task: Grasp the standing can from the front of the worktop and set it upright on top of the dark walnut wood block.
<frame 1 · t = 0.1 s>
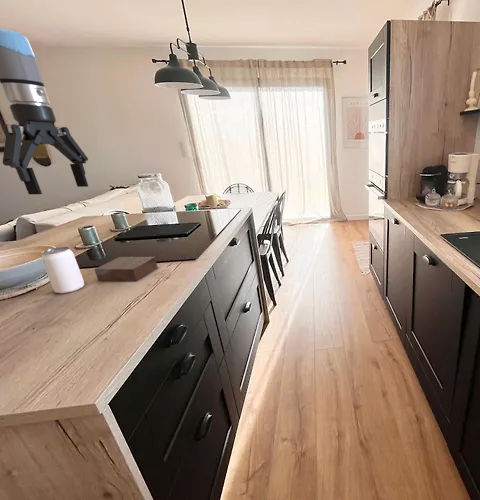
hand: (61, 190, 80), 28 cm above the counter, tool pointing down, fingers open, 13 cm apart
walnut block: (129, 274, 93), on the counter
can: (70, 289, 84), on the counter
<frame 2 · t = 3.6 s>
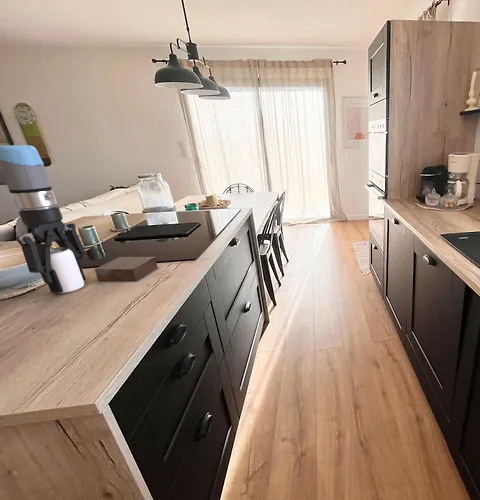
hand: (69, 285, 83), 1 cm above the counter, tool pointing down, fingers closed on can, 6 cm apart
can: (70, 289, 84), on the counter, touching gripper
everything else where it was.
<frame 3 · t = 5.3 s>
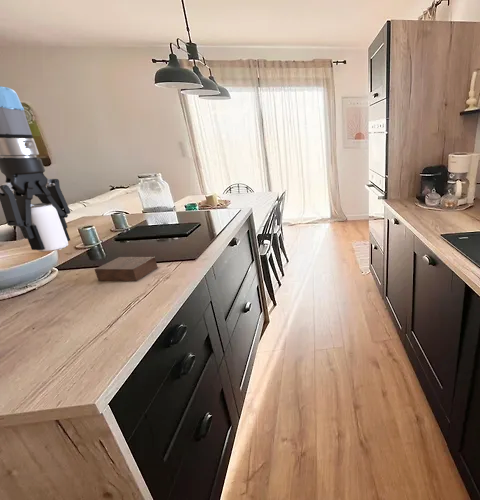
hand: (52, 244, 79), 14 cm above the counter, tool pointing down, fingers closed on can, 6 cm apart
can: (53, 248, 79), point 12 cm above the counter, touching gripper
everything else where it was.
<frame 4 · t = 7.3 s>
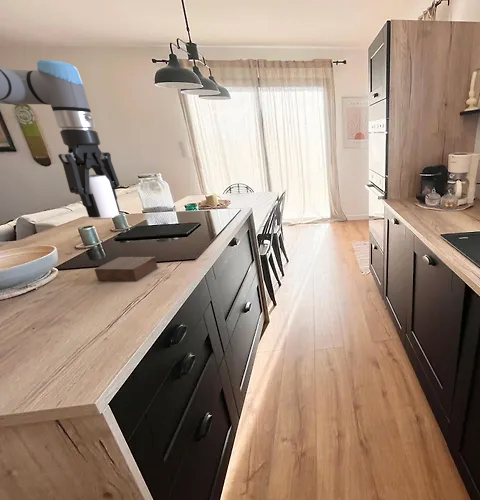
hand: (105, 213, 85), 20 cm above the counter, tool pointing down, fingers closed on can, 6 cm apart
can: (106, 217, 85), point 19 cm above the counter, touching gripper
everything else where it was.
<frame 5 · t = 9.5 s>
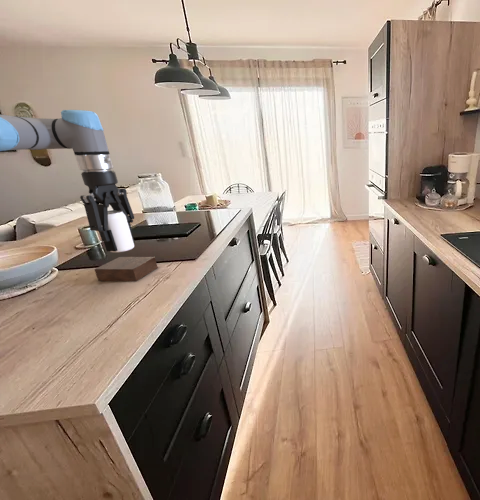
hand: (121, 246, 89), 9 cm above the counter, tool pointing down, fingers closed on can, 6 cm apart
can: (122, 250, 90), point 8 cm above the counter, touching gripper
everything else where it was.
when the fingers open (5 cm above the counter, at t = 11.0 s): can stays where it is, resting on walnut block.
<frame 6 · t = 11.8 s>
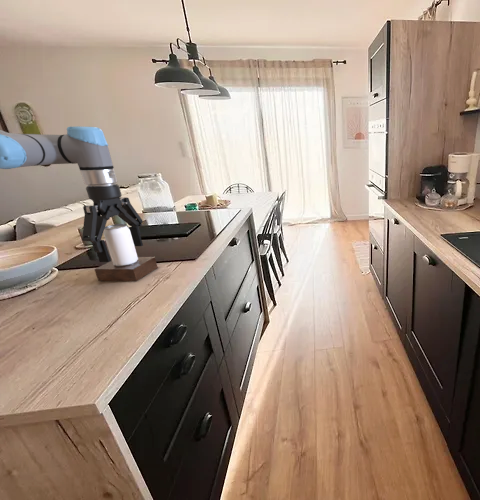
hand: (123, 253, 90), 7 cm above the counter, tool pointing down, fingers open, 13 cm apart
walnut block: (129, 274, 93), on the counter, touching can
can: (126, 263, 91), point 4 cm above the counter, touching walnut block
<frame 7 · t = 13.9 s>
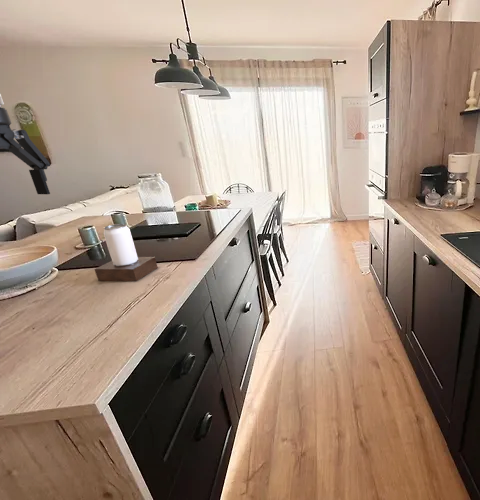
hand: (17, 198, 72), 27 cm above the counter, tool pointing down, fingers open, 13 cm apart
nothing on the counter moved.
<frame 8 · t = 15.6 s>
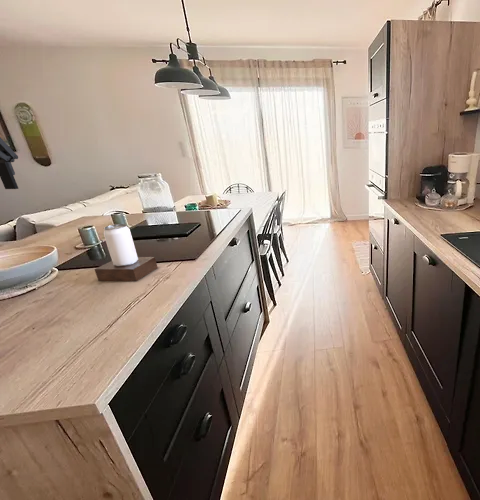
nothing on the counter moved.
at the end: can inside the target area on the walnut block (0.1 cm from its centre), point 3.8 cm above the walnut block's base; can tilted 0°; the gripper is holding nothing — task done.
